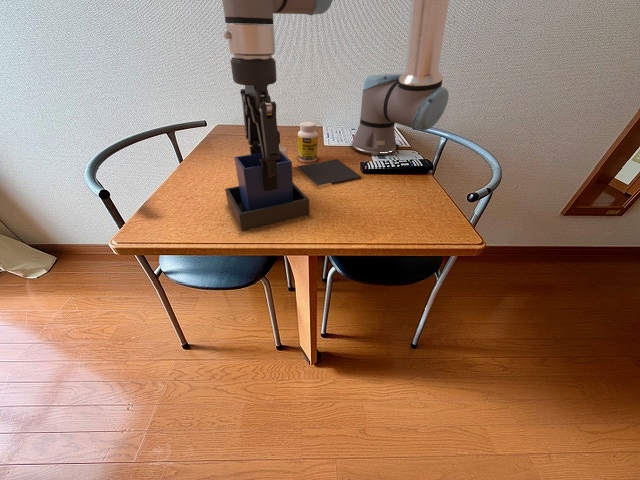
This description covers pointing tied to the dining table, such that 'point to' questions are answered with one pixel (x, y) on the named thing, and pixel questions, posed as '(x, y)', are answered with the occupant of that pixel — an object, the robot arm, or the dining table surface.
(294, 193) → the bin
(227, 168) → the dining table surface
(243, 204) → the inner bin
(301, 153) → the pill bottle
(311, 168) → the mat
